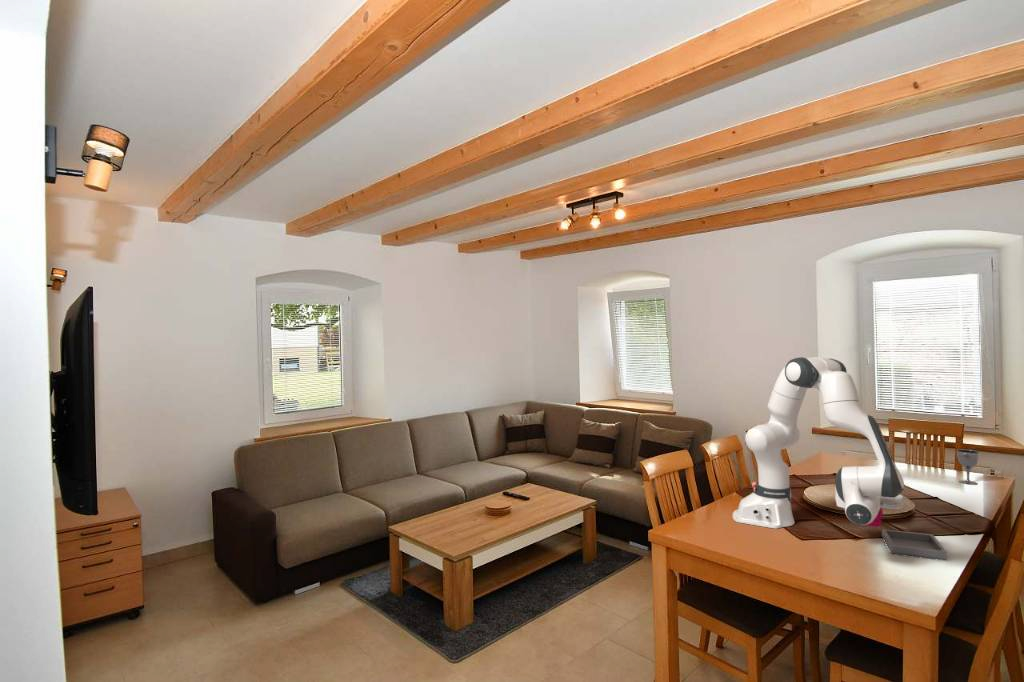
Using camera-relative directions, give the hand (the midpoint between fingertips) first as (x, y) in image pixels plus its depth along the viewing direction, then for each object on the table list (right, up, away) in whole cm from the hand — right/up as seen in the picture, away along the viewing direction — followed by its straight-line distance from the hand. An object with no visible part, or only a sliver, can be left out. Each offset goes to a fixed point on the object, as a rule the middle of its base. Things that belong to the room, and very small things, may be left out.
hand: (870, 491), depth 196 cm
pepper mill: (0, -12, 0) cm, 12 cm away
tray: (+9, -17, -9) cm, 21 cm away
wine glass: (+86, -13, +61) cm, 106 cm away
